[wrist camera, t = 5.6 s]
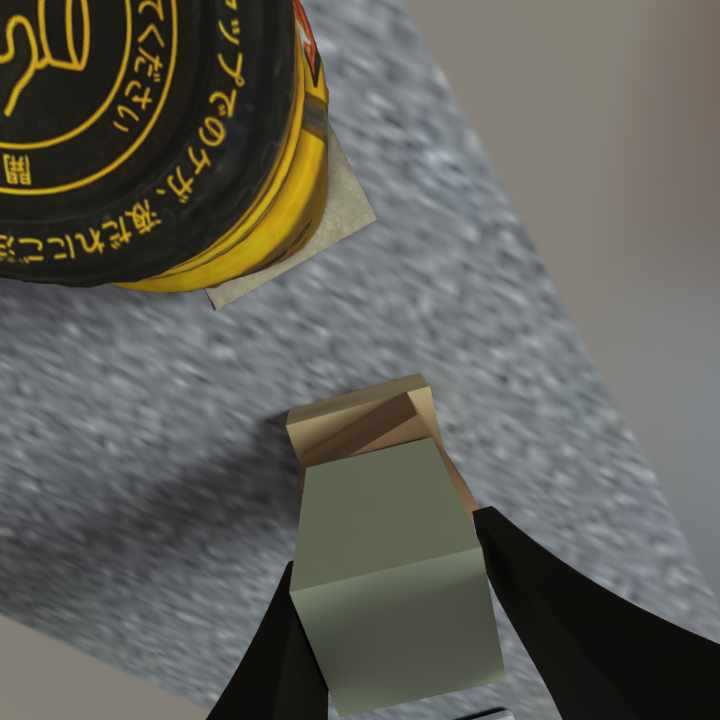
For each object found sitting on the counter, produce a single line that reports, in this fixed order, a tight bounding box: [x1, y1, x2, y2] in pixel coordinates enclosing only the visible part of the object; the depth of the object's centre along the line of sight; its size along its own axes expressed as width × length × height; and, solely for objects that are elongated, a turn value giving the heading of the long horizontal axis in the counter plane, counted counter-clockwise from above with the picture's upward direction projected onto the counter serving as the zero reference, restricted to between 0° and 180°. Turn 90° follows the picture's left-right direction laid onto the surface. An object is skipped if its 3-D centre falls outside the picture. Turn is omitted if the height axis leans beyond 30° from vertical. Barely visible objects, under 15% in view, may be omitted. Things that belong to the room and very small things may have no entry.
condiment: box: [0, 0, 377, 310], centre depth 9 cm, size 7×8×12 cm
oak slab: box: [286, 374, 443, 466], centre depth 18 cm, size 6×6×2 cm
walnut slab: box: [298, 391, 480, 521], centre depth 16 cm, size 5×5×2 cm
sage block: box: [289, 437, 506, 717], centre depth 12 cm, size 4×4×5 cm
